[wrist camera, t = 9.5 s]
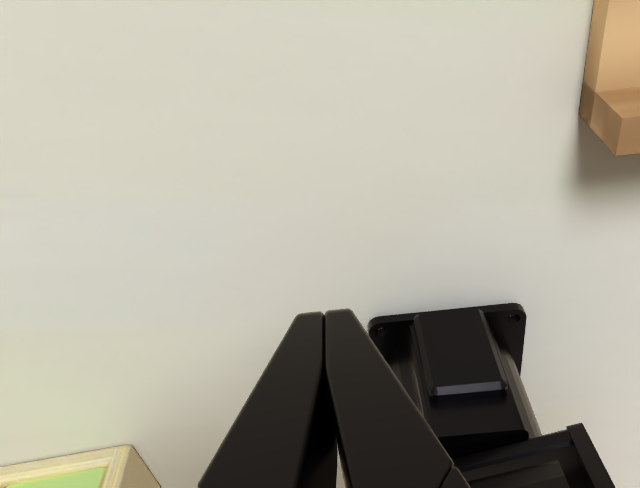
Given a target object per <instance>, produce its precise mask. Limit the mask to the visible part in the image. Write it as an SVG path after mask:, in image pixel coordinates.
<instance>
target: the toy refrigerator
mask: <svg viewBox="0 0 640 488" xmlns="http://www.w3.org/2000/svg"><path fill="white" fill-rule="evenodd" d="M0 488H160V486H159V484H158V482H157V481H156V480H155V478H154V477H153V475H152V474H151V472H150V471H149V470H148V468H147V467H146V465H145V463H144V462H143V460H142V459H141V458H140V456H139V455H138V453H137V452H136V450H135V449H134V448H133V446H131V445H123V446H115V447H110V448H105V449H99V450H93V451H88V452H82V453H77V454H71V455H66V456H60V457H55V458H49V459H44V460H38V461H32V462H26V463H20V464H15V465H9V466H3V467H0Z"/></svg>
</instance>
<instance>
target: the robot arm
mask: <svg viewBox="0 0 640 488" xmlns="http://www.w3.org/2000/svg"><path fill="white" fill-rule="evenodd" d="M513 314H516V315H515V316H512V317H510V316H511V315H513ZM525 326H526V313H525V311H524V309H523V307H522V306H521V305H520V304H517V303H508V304H498V305H488V306H478V307H468V308H458V309H448V310H438V311H428V312H419V313H409V314H399V315H389V316H379V317H375V318H373V319H372V320H370V322H369V324H368V331H369V335H368V334H367V332H366V331H365V329H364V328H363V326H362V325H361V323H360V322H359V320H358V319H357V317H356V316H355V314H354V313H353V311H351V310H350V309H339V310H329V311H327V312H326V313H325V315H324V314H323V313H322V312H309V313H301V314H298V315H297V316H296V317H295V319H294V321H293V322H292V324H291V326H290V327H289V329H288V331H287V333H286V334H285V336H284V338H283V339H282V341H281V343H280V345H279V346H278V348H277V350H276V351H275V353H274V355H273V357H272V358H271V360H270V362H269V363H268V365H267V367H266V369H265V370H264V372H263V374H262V375H261V377H260V379H259V380H258V382H257V384H256V386H255V387H254V389H253V391H252V392H251V394H250V396H249V398H248V399H247V401H246V403H245V404H244V406H243V408H242V410H241V411H240V413H239V415H238V416H237V418H236V420H235V422H234V423H233V425H232V427H231V428H230V430H229V432H228V434H227V435H226V437H225V439H224V440H223V442H222V444H221V445H220V447H219V449H218V451H217V452H216V454H215V456H214V457H213V459H212V461H211V463H210V464H209V466H208V468H207V469H206V471H205V473H204V475H203V476H202V478H201V480H200V481H199V483H198V488H336V476H337V444H338V450H339V456H340V462H341V468H342V473H343V478H344V482H345V487H346V488H615V486H614V484H613V482H612V480H611V478H610V476H609V474H608V472H607V470H606V468H605V467H604V465H603V463H602V461H601V459H600V457H599V455H598V453H597V451H596V449H595V447H594V445H593V443H592V441H591V439H590V437H589V435H588V433H587V432H586V430H585V428H584V426H583V424H582V423H579V424H575V425H571V426H567V429H566V430H562V431H558V432H554V433H550V434H547V435H543V436H542V434H541V432H540V429H539V426H538V423H537V421H536V418H535V415H534V413H533V410H532V407H531V405H530V402H529V399H528V397H527V394H526V391H525V389H524V386H523V383H522V381H521V378H520V373H521V364H522V354H523V345H524V335H525ZM380 327H383V329H381V330H379V329H377V328H380Z"/></svg>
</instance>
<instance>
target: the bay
mask: <svg viewBox="0 0 640 488" xmlns="http://www.w3.org/2000/svg"><path fill="white" fill-rule="evenodd" d="M579 115H580V117H581V118H582V119H583V120H584V121H585V122H586V123H587V124H588V126H589V127H590V128H591V129H592V130H593V131H594V132H595V133H596V135H597V136H598V137H599V138H600V139H601V140H602V141H603V142H604V144H605V145H606V146H607V147H608V148H609V149H610V150H611V151H612V153H613V154H614V155H615V156H620V155H629V154H638V153H640V0H594V7H593V14H592V21H591V28H590V36H589V43H588V50H587V57H586V65H585V72H584V79H583V86H582V94H581V101H580V108H579Z"/></svg>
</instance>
